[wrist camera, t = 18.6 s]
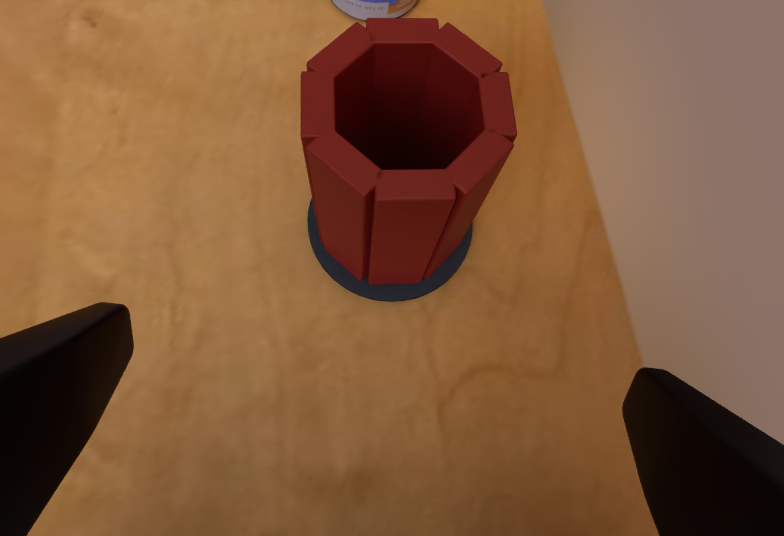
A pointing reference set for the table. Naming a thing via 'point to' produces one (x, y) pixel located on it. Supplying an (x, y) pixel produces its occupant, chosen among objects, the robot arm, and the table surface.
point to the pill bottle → (375, 8)
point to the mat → (389, 290)
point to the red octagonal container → (402, 143)
